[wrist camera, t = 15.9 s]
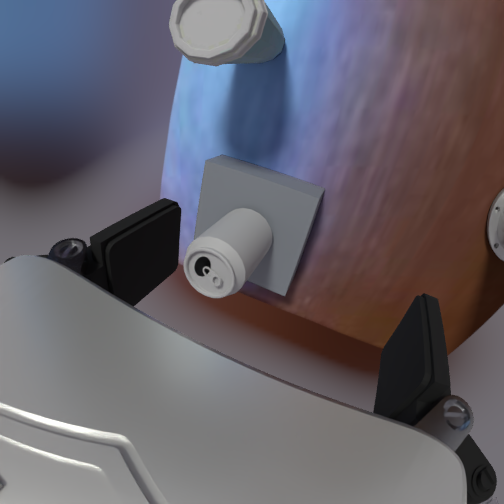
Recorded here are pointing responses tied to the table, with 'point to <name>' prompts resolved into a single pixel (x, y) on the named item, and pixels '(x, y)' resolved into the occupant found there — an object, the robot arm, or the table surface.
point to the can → (227, 253)
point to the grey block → (262, 212)
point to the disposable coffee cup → (225, 31)
